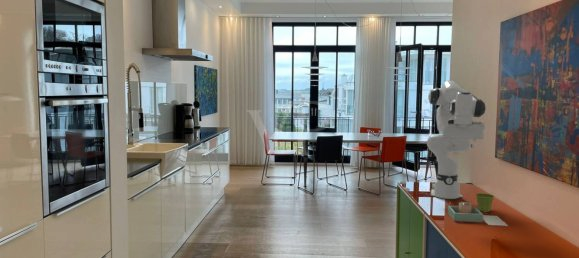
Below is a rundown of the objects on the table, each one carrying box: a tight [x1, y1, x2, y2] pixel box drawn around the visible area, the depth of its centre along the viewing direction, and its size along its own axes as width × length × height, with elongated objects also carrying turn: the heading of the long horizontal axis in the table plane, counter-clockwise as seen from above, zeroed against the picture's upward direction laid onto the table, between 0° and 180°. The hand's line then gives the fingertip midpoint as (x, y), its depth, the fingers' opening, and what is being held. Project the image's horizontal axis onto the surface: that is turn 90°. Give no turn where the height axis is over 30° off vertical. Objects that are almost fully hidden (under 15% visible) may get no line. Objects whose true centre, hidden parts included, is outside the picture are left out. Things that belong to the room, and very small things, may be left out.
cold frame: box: [447, 205, 484, 223], centre depth 220 cm, size 14×14×4 cm
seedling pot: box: [458, 201, 473, 214], centre depth 219 cm, size 6×6×8 cm
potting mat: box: [483, 214, 509, 227], centre depth 215 cm, size 16×9×1 cm, turn 171°
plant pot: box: [475, 192, 495, 213], centre depth 232 cm, size 9×9×9 cm
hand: (462, 147), depth 226 cm, fingers open, 8 cm apart
